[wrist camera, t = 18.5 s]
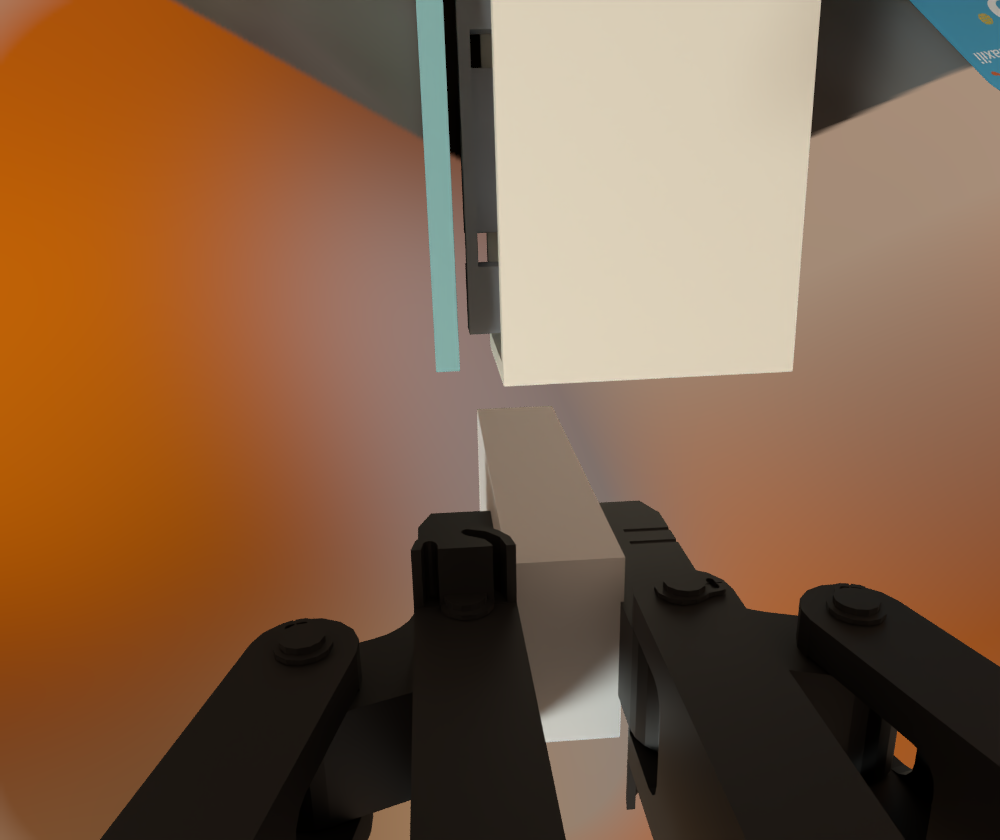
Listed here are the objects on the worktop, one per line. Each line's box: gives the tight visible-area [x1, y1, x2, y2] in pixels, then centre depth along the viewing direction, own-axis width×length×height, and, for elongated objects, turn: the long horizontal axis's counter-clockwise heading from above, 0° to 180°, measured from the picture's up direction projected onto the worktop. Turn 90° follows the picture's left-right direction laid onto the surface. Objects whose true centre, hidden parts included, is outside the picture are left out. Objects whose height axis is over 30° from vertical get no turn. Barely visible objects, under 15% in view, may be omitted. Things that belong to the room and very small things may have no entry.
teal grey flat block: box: [416, 0, 501, 372], centre depth 36 cm, size 13×18×5 cm
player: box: [480, 0, 821, 386], centre depth 36 cm, size 12×18×7 cm, turn 2°
